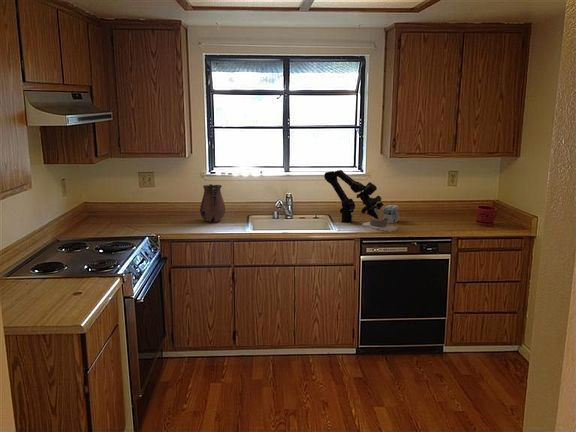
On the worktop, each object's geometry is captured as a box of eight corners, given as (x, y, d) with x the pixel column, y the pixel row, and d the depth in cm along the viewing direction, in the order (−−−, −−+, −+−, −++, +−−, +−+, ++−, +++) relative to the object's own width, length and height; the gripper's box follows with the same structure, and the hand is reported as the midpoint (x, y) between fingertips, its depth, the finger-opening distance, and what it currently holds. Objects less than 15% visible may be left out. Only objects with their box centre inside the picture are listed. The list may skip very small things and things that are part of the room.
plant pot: (472, 225, 333) (474, 207, 330) (477, 221, 343) (478, 204, 341) (493, 228, 326) (494, 210, 323) (497, 224, 336) (499, 206, 333)
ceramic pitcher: (221, 217, 359) (219, 182, 354) (230, 223, 341) (229, 187, 335) (197, 219, 352) (195, 184, 346) (205, 225, 333) (204, 189, 328)
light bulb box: (392, 223, 338) (392, 208, 336) (383, 222, 342) (383, 206, 340) (398, 220, 347) (399, 205, 344) (389, 219, 351) (390, 204, 348)
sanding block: (370, 224, 328) (370, 209, 326) (375, 223, 332) (375, 208, 330) (381, 226, 321) (382, 211, 319) (386, 225, 326) (387, 210, 324)
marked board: (361, 226, 331) (362, 224, 331) (368, 224, 337) (369, 221, 336) (390, 231, 316) (390, 229, 316) (397, 229, 322) (397, 227, 322)
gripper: (365, 193, 318) (379, 213, 313) (381, 190, 332) (395, 208, 326) (355, 204, 326) (368, 223, 321) (371, 200, 339) (384, 218, 334)
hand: (379, 218), depth 325 cm, fingers closed on sanding block, 4 cm apart
